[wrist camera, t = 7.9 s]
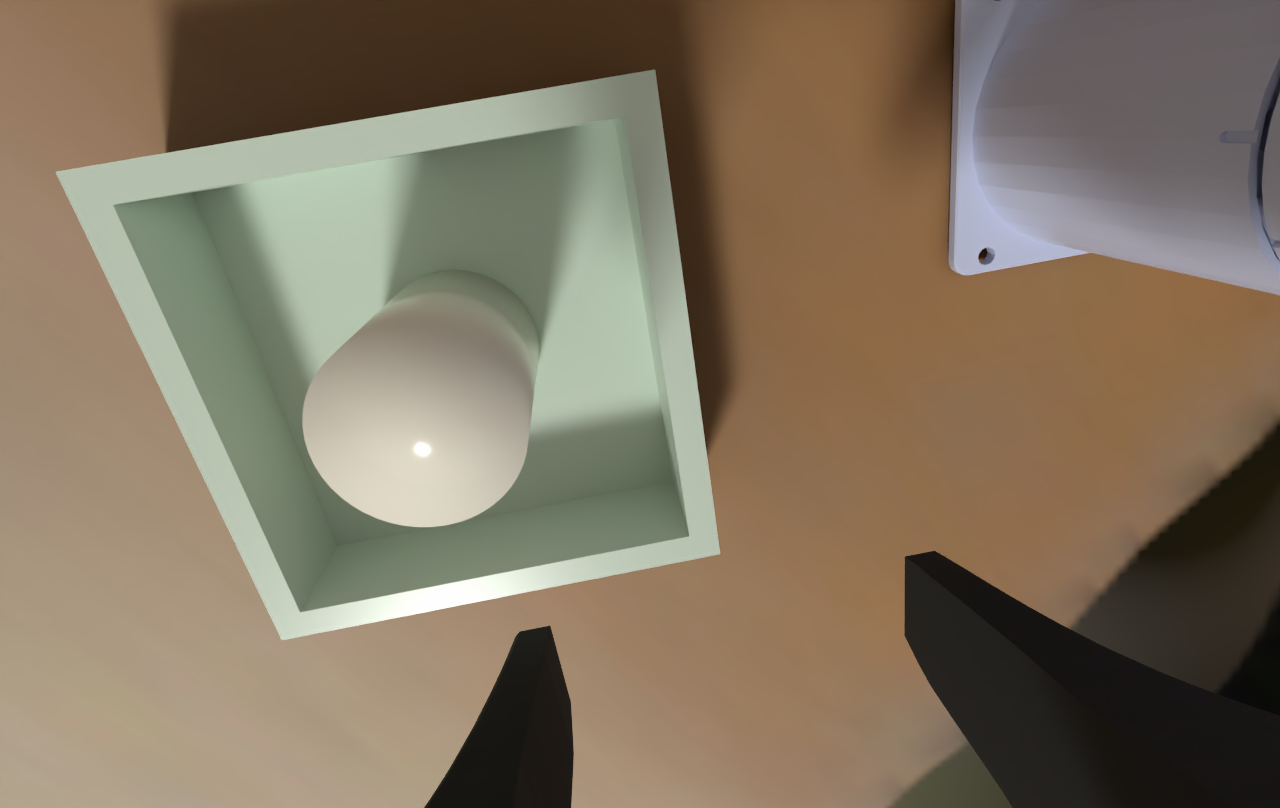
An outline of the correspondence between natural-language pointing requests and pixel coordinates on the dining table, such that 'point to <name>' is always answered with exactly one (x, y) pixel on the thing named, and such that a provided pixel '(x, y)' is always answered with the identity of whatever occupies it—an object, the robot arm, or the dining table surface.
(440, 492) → the white capsule cylinder
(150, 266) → the bin
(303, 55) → the dining table surface
